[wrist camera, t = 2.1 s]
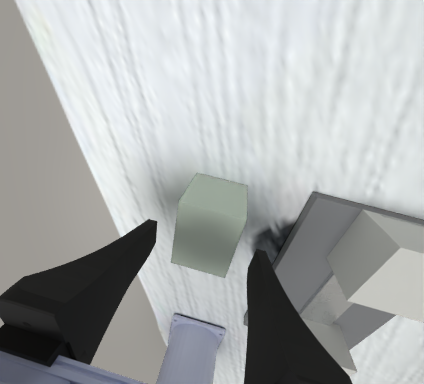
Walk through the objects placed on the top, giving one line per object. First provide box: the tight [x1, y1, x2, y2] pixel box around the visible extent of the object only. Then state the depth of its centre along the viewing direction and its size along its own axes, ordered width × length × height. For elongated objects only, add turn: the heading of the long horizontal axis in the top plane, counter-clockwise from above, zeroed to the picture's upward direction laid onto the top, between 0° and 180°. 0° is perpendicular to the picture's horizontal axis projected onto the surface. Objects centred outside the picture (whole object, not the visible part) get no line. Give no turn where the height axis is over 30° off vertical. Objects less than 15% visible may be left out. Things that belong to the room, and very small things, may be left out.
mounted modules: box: [302, 210, 424, 377], centre depth 17 cm, size 20×6×4 cm, turn 168°
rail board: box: [244, 192, 424, 350], centre depth 19 cm, size 20×13×1 cm, turn 168°
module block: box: [171, 173, 247, 278], centre depth 15 cm, size 6×4×5 cm
